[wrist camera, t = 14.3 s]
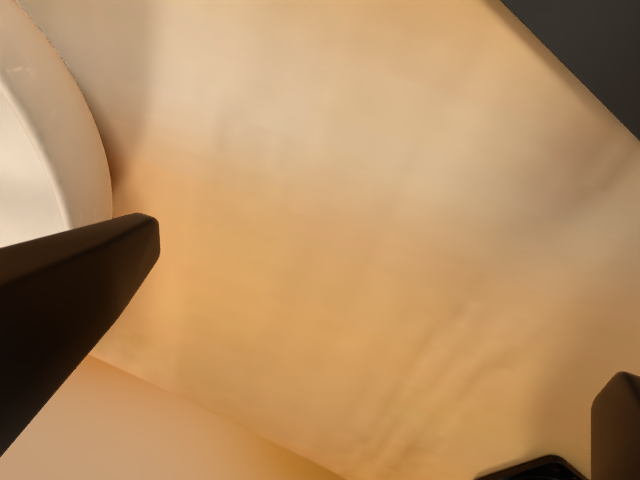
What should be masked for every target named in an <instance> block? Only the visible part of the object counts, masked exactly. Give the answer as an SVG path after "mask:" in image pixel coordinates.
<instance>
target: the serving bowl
mask: <svg viewBox="0 0 640 480" xmlns="http://www.w3.org/2000/svg"><path fill="white" fill-rule="evenodd" d="M112 213H113V201H112V187H111V178H110V173H109V168H108V162H107V158H106V154H105V150H104V147H103V144H102V141H101V138H100V134H99V132H98V129H97V127H96V124H95V121H94V119H93V116H92V114H91V112H90V110H89V107H88V105H87V103H86V101H85V99H84V97H83V95H82V93H81V91H80V89H79V87H78V86H77V84H76V82H75V80H74V78H73V77H72V75H71V73H70V72H69V70H68V68H67V67H66V65H65V64H64V62H63V61H62V59H61V58H60V56H59V55H58V53H57V52H56V50H55V49H54V47H53V46H52V45H51V43H50V42H49V41H48V39H47V38H46V37H45V36H44V34H43V33H42V32H41V31H40V30H39V28H38V27H37V26H36V25H35V23H34V22H33V21H32V20H31V19H30V17H29V16H28V15H27V14H26V13H25V12H24V11H23V10H22V9H21V7H20V6H19V5H18V4H17V3H16V2H15V1H14V0H0V248H1V247H5V246H9V245H13V244H17V243H21V242H25V241H29V240H32V239H36V238H40V237H44V236H48V235H52V234H56V233H60V232H63V231H67V230H71V229H75V228H79V227H83V226H87V225H91V224H95V223H98V222H102V221H106V220H110V219H112Z"/></svg>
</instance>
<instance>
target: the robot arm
mask: <svg viewBox="0 0 640 480" xmlns="http://www.w3.org/2000/svg"><path fill="white" fill-rule="evenodd" d="M159 255H160V235H159V223H158V221H157V219H156V218H154V217H151V216H148V215H145V214H142V213H133V214H129V215H126V216H122V217H118V218H114V219H110V220H106V221H102V222H98V223H95V224H91V225H87V226H83V227H79V228H75V229H71V230H67V231H63V232H60V233H56V234H52V235H48V236H44V237H40V238H36V239H32V240H29V241H25V242H21V243H17V244H13V245H9V246H5V247H1V248H0V457H1V456H2V455H3V453H4V452H5V451H6V450H7V449H8V448H9V446H10V445H11V444H12V443H13V442H14V441H15V439H16V438H17V437H18V436H19V435H20V433H21V432H22V431H23V430H24V429H25V427H26V426H27V425H28V424H29V423H30V422H31V420H32V419H33V418H34V417H35V416H36V415H37V413H38V412H39V411H40V410H41V409H42V407H43V406H44V405H45V404H46V403H47V402H48V400H49V399H50V398H51V397H52V396H53V394H54V393H55V392H56V391H57V390H58V389H59V387H60V386H61V385H62V384H63V383H64V382H65V380H66V379H67V378H68V377H69V376H70V374H71V373H72V372H73V371H74V370H75V369H76V367H77V366H78V365H79V364H80V363H81V361H82V360H83V359H84V358H85V357H86V356H87V354H88V353H89V352H90V351H91V350H92V349H93V347H94V346H95V345H96V344H97V343H98V342H99V340H100V339H101V338H102V337H103V336H104V334H105V333H106V332H107V331H108V330H109V329H110V327H111V326H112V325H113V324H114V322H115V321H116V320H117V319H118V317H119V316H120V315H121V313H122V312H123V311H124V309H125V308H126V306H127V305H128V303H129V302H130V300H131V299H132V297H133V296H134V294H135V293H136V292H137V290H138V289H139V287H140V286H141V284H142V283H143V281H144V280H145V278H146V277H147V275H148V274H149V272H150V271H151V269H152V268H153V266H154V265H155V263H156V262H157V260H158V258H159ZM479 480H588V479H587V478H586V477H585V476H583V475H582V474H581V473H580V472H579V471H578V470H576V469H575V468H574V467H573V466H572V465H570V464H569V463H568V462H567V461H566V460H564V459H563V458H562V457H559V456H548V457H545V458H542V459H539V460H536V461H533V462H530V463H527V464H524V465H521V466H518V467H515V468H512V469H509V470H506V471H503V472H500V473H497V474H494V475H491V476H488V477H485V478H482V479H479ZM591 480H640V376H637V375H634V374H631V373H628V372H618V373H616V374H615V375H614V376H613V377H612V378H611V380H610V381H609V382H608V383H607V384H606V386H605V387H604V388H603V389H602V390H601V391H600V393H599V394H598V395H597V396H596V398H595V399H594V401H593V404H592V408H591Z"/></svg>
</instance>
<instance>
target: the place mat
mask: <svg viewBox="0 0 640 480" xmlns="http://www.w3.org/2000/svg"><path fill="white" fill-rule="evenodd" d="M501 1H502V2H503V3H504V4H505V5H506V6H507V7H508V8H509V9H510V10H511V11H512V12H513V13H514V14H515V15H516V16H517V17H518V18H519V19H520V20H521V22H522V23H523V24H524V25H525V26H526V27H527V28H528V29H529V30H530V31H531V32H532V33H533V34H534V35H535V36H536V37H537V38H538V39H539V40H540V41H541V42H542V43H543V44H544V45H545V46H546V47H547V48H548V49H549V50H550V51H551V52H552V53H553V54H554V55H555V56H556V57H557V58H558V59H559V60H560V61H561V62H562V63H563V64H564V65H565V66H566V67H567V68H568V69H569V70H570V71H571V72H572V73H573V74H574V75H575V76H576V77H577V78H578V79H579V80H580V81H581V82H582V83H583V84H584V85H585V86H586V87H587V88H588V89H589V90H590V91H591V92H592V93H593V94H594V95H595V96H596V97H597V98H598V99H599V100H600V101H601V102H602V103H603V104H604V105H605V106H606V107H607V108H608V109H609V110H610V111H611V112H612V113H613V114H614V115H615V116H616V117H617V118H618V119H619V120H620V121H621V122H622V123H623V124H624V125H625V126H626V127H627V128H628V129H629V130H630V131H631V132H632V133H633V134H634V135H635V136H636V137H637V138H638V139H639V140H640V0H501Z"/></svg>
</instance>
